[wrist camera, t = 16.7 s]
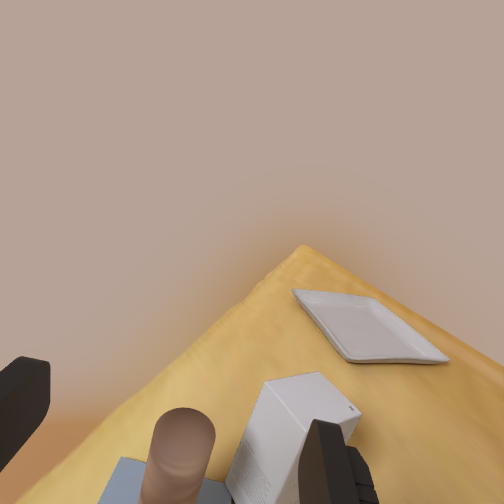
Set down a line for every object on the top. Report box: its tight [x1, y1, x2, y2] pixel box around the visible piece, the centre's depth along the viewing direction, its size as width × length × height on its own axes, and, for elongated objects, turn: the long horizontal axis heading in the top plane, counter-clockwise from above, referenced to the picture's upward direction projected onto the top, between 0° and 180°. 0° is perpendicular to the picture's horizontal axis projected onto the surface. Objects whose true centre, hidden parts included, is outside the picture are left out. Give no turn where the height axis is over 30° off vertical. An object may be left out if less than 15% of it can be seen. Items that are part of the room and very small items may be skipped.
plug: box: [138, 408, 216, 504], centre depth 26 cm, size 5×5×12 cm
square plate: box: [292, 289, 450, 364], centre depth 76 cm, size 27×27×4 cm
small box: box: [225, 371, 362, 504], centre depth 32 cm, size 8×6×13 cm
